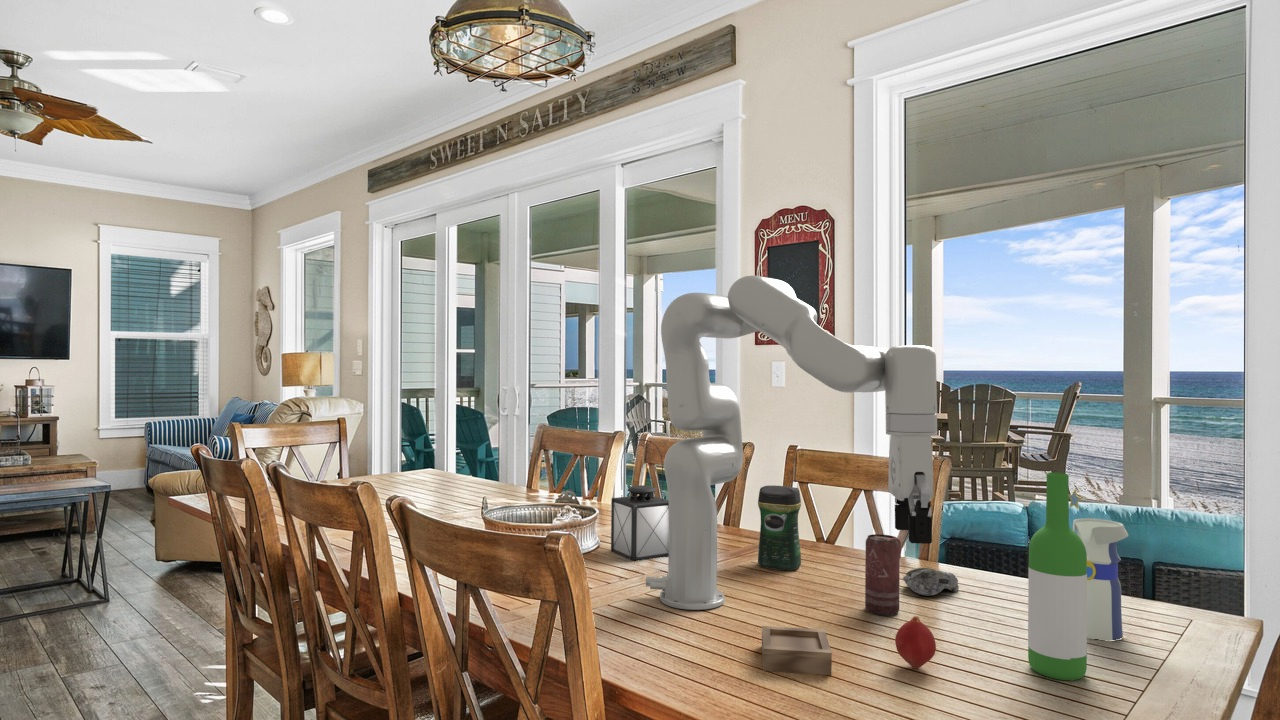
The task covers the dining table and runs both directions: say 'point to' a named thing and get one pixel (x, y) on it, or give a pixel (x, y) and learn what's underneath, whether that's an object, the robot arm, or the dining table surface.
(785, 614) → the dining table surface
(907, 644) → the onion
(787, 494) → the coffee jar
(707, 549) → the robot arm
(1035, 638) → the wine bottle
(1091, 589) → the white spray bottle
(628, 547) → the lantern
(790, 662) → the wooden square tray
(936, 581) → the fossilized seashell
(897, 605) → the can
